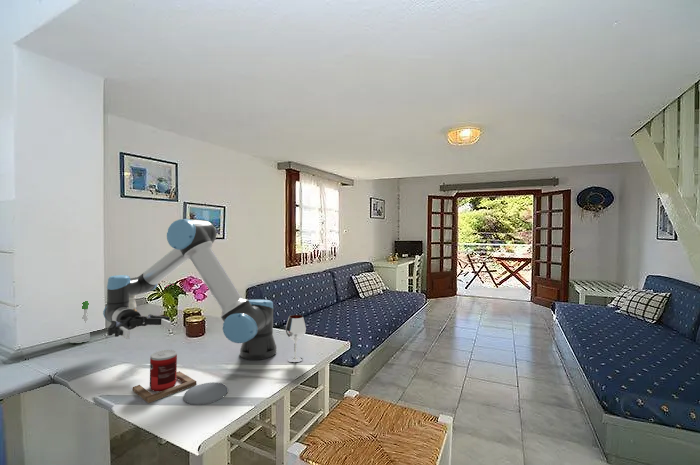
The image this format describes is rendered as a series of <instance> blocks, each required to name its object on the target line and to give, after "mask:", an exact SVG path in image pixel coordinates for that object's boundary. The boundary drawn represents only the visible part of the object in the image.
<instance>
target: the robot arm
mask: <svg viewBox="0 0 700 465" xmlns="http://www.w3.org/2000/svg"><path fill="white" fill-rule="evenodd" d="M216 239H217V230H216V227H215V226H214V225H213V224H212V223H211V222H209V221H208V220H205V219H189V218H181V219H177V220H175V221H173V222H172V223H171V224H170V225H169V227H167V232H166V240H167V243H168V245H169V246H170V247H171V248H172V249H171V250H170V251H169V252H168V253H167V254H165V255H164V256H163V257H161V258H160V259H159V260H157V261H156V262H155V263H153V265H151V266H150V267H149V268H147V269H146V270H145V271H144V272H143V273H140V275H139V276H137V277H130V276H129V275H128V274H127V275H126V274H118V275H116V274H115V275H111V276H109V277H108V278H107V284H106V285H107V286H106V290H107V291H106V293H107V294H106V306H105V307H104V309H103V311H102V315H103V318H105V320H106V321H107V322H109V323H111V324H110V325H109V326H108V328H107V329H108V330H107V336H112V335H113V334H114V337H115V338H116V337H118V338H119V336H121V337H123V338H125V339H127V340H129V339H130V330H133V329H135V328H137V327H146V326H161V327H162V328H165V329H166V330H168V331H169V330H172V321H171V316H165V315H163V316H162V315H154V314H148V316H147V315H146V316H145V315H144V316H143V315H141V314H140V312H139V311H138V310H137V311H135V310H133V309H131V308H129V297H130V296H133V295H135V296H136V295H141V294H145V293H149V292H152V291H154V290H155V289H156V288H157V287H158V284H160V282H162V281H163V280H164V279H166V277H168V276H169V275H170V274H172V273H173V272H174V271H176V270H177V269H178V268H179V267H181V266H182V265H183V264H185V263H186V262H187V261H189V260H190V261H191V262H192V265H193V266H194V268H195V269H196V271H197V272H198V274H199V275H200V277H201V278H202V281H203V282H204V284H205V285H206V287H207V288H208V290H209V292H210V294H211V295H212V296H213V298H214V300H215V301H216V303H217V304H218V306H219V308H220V309H221V314H220V318H221V320H222V321H223V324H222V333H223V334H224V336H225V337H226V338H227V340H228V341H230V342H231V343H234V344H241V346H240V349H239V356H240V357H241V358H242V359H245V360H250V361H257V360H259V361H261V360H265V358H266V359H268V357H269V358H271V356H272V357H273V355H274V354H275V353H276V354H277V344H276V341H275V338H274V335H273V334H274V332H273V331H274V329H273V328H274V302H273V301H272V300H269V299H247V298H243V297H242V295H241V294H240V292H239V291H238V289H237V287H236V286H235V284H234V282H233V281H232V279H231V277H230V276H229V274H228V273H227V272H226V270H225V268H224V266H223V265H222V264H221V262H220V260H219V257H217V255H216V253H215V252H214V251H213V249H212V246H213V244H214V242H215V241H216ZM276 354H275V355H276ZM275 355H274V356H275Z"/></svg>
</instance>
